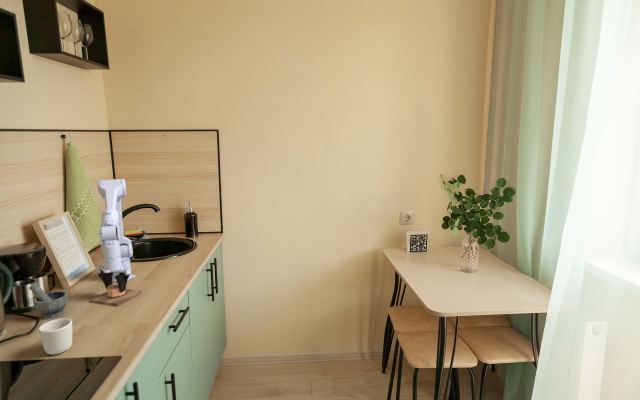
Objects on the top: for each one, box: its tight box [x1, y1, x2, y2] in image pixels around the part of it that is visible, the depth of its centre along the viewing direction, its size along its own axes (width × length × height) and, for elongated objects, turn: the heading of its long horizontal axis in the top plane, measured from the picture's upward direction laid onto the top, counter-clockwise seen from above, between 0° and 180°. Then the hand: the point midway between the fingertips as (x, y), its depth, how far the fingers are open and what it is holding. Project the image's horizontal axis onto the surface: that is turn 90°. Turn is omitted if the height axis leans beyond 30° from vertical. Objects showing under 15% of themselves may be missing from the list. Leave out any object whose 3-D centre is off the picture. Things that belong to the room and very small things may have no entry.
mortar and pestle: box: [28, 282, 69, 320], centre depth 130 cm, size 11×9×12 cm
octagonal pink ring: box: [106, 282, 125, 297], centre depth 144 cm, size 6×6×3 cm
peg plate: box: [89, 283, 143, 307], centre depth 144 cm, size 13×12×5 cm
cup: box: [38, 317, 73, 355], centre depth 110 cm, size 11×8×8 cm
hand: (116, 290), depth 144 cm, fingers closed on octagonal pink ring, 6 cm apart
